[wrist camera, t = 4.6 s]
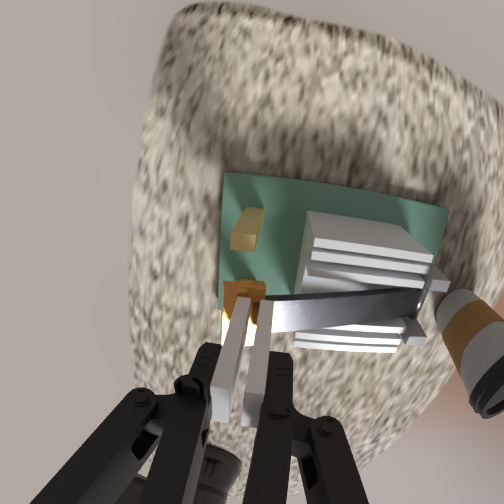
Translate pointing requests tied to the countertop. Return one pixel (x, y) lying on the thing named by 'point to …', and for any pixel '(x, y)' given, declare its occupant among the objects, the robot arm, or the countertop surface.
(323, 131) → the countertop surface
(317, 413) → the countertop surface
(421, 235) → the heatsink base
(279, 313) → the strap
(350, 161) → the countertop surface
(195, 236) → the countertop surface
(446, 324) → the coffee cup
